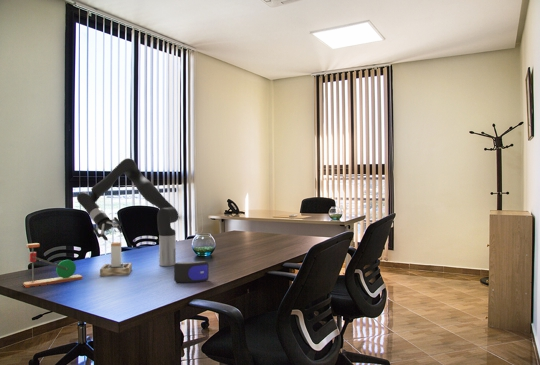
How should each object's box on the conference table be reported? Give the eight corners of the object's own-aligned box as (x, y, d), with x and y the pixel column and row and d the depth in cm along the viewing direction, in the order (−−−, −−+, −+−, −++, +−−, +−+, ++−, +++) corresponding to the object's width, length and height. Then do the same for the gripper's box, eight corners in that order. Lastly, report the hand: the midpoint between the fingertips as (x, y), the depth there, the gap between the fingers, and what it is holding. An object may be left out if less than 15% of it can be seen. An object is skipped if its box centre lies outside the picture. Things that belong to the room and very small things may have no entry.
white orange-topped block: (121, 270, 218) (121, 242, 218) (120, 271, 214) (120, 243, 214) (112, 270, 217) (112, 242, 217) (111, 272, 213) (111, 243, 213)
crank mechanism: (26, 288, 184) (25, 245, 184) (22, 285, 189) (22, 244, 189) (83, 279, 201) (83, 240, 201) (78, 276, 206) (78, 239, 206)
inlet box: (131, 269, 224) (131, 262, 224) (128, 274, 210) (128, 267, 210) (104, 270, 220) (104, 263, 220) (100, 276, 207) (99, 268, 207)
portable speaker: (174, 284, 189) (174, 264, 189) (174, 282, 194) (174, 262, 194) (209, 282, 193) (209, 262, 193) (208, 280, 197) (208, 260, 198)
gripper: (86, 219, 227) (101, 238, 220) (110, 207, 234) (125, 225, 228) (88, 227, 232) (103, 246, 225) (111, 215, 240) (126, 233, 233)
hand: (114, 235), depth 226 cm, fingers open, 8 cm apart
